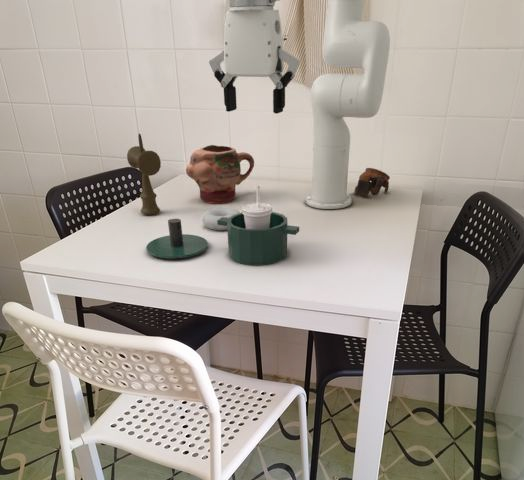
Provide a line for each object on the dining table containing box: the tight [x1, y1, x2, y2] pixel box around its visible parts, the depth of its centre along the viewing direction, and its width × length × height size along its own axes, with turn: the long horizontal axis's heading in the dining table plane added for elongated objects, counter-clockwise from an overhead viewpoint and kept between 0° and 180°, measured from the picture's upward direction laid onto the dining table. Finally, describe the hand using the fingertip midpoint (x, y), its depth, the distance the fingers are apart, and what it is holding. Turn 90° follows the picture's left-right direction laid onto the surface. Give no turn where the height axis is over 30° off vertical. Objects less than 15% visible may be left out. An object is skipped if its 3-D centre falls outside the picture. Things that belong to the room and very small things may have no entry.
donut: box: [201, 207, 241, 231], centre depth 125 cm, size 10×4×10 cm
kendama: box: [126, 133, 162, 216], centre depth 130 cm, size 6×10×20 cm, turn 32°
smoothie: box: [241, 185, 274, 229], centre depth 106 cm, size 6×6×14 cm
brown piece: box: [353, 167, 391, 199], centre depth 144 cm, size 12×10×8 cm
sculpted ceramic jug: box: [185, 144, 255, 204], centre depth 142 cm, size 20×12×14 cm, turn 119°
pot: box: [217, 211, 300, 266], centre depth 108 cm, size 13×18×8 cm
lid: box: [145, 218, 209, 260], centre depth 111 cm, size 14×14×7 cm
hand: (254, 111), depth 94 cm, fingers open, 9 cm apart
